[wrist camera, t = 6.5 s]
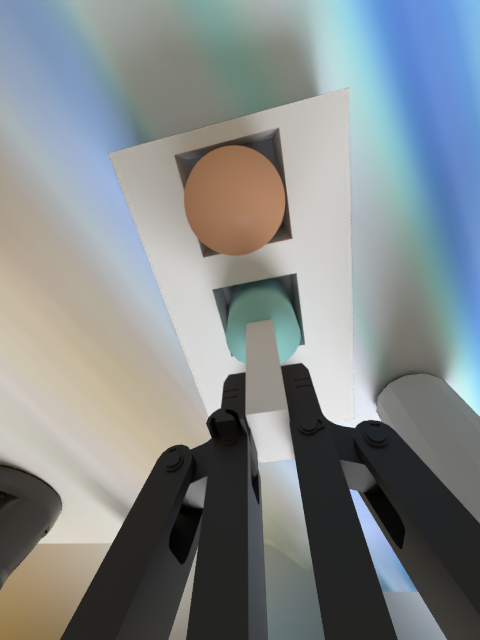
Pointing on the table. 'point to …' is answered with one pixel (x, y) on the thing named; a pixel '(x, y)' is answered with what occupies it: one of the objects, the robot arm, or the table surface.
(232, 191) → the button terracotta
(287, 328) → the button teal
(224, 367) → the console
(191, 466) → the robot arm
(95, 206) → the table surface
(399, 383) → the water bottle
